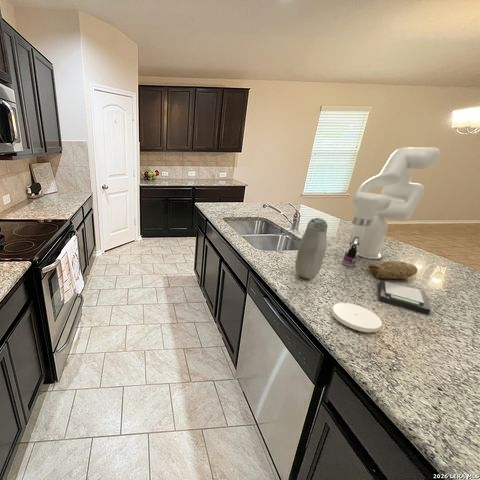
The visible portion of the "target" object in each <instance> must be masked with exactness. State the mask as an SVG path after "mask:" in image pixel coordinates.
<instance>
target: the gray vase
mask: <svg viewBox="0 0 480 480" xmlns="http://www.w3.org/2000/svg"><path fill="white" fill-rule="evenodd" d="M327 233H328V223H327V221H326V220H325V219H323V218H320V217H314V218H311V219H310V220H309V221H308V222H307V225H306V227H305V231H304V232H303V234H302V237H301V238H300V241H299V244H298V249H297V253H296V259H295V264H294V265H295V266H294V269H295V273H296V274H297V275H298V276H299V277H301V278H304V279H314V278H315V277H317V276H318V274H319V272H320V271H321V268H322V264H323V260H324V257H325V254H326V250H327V235H328V234H327Z"/></svg>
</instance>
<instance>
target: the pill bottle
mask: <svg viewBox="0 0 480 480" xmlns="http://www.w3.org/2000/svg"><path fill="white" fill-rule="evenodd" d="M350 247H351V246H350V245H349V246H348V248H347V249H346V250H345V253H344V256H343V258H342V264H343V265H344V266H347V267H355V266H356V263H357V259H358V257H359V256H358V254H359V253H358V252H357V253H356V256H355V258H352V257H348V256H347V254H348V251H349V249H350ZM358 249H359V248H357V251H358Z"/></svg>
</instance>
